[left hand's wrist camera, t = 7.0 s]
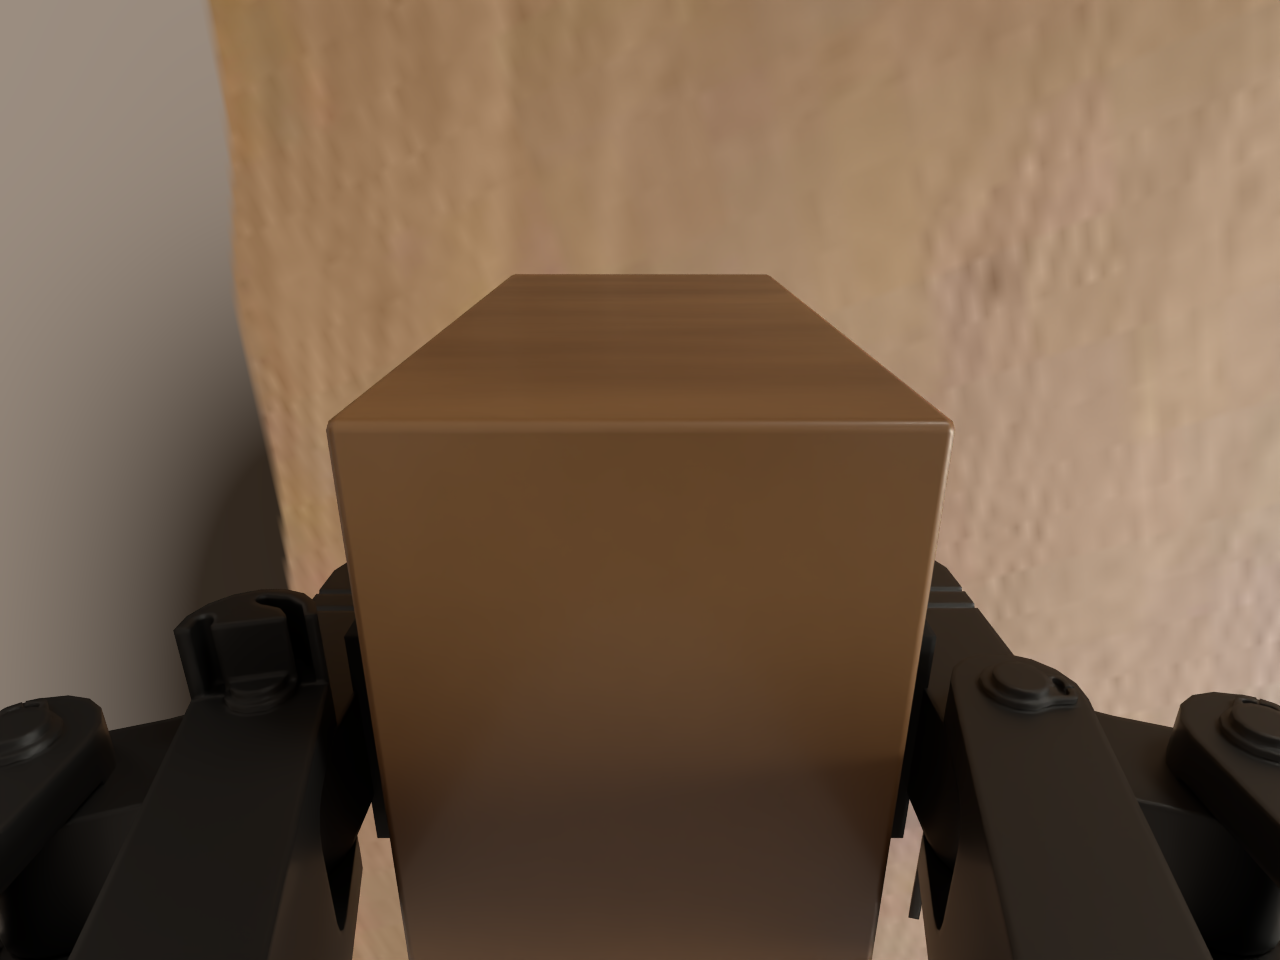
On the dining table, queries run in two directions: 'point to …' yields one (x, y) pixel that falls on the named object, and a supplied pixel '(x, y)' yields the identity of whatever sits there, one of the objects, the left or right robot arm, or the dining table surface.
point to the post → (640, 619)
